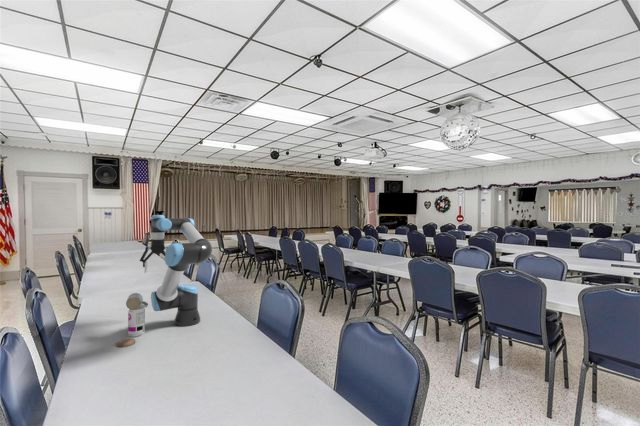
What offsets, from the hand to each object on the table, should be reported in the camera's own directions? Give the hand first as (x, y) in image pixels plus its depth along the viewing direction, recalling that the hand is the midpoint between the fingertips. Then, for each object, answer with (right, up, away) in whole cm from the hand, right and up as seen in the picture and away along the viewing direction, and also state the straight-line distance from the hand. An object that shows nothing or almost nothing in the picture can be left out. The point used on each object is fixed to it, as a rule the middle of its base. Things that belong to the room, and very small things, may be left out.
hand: (157, 272), depth 203 cm
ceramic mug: (+1, -16, -24) cm, 29 cm away
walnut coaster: (+3, -31, -37) cm, 48 cm away
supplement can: (+1, -31, -24) cm, 39 cm away
